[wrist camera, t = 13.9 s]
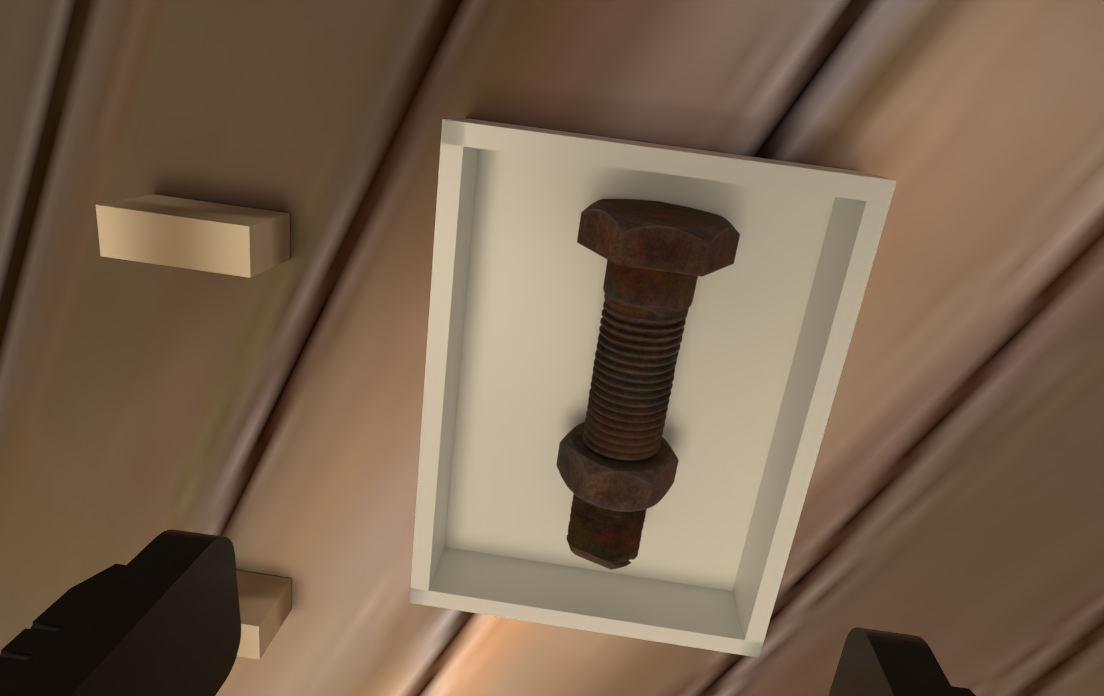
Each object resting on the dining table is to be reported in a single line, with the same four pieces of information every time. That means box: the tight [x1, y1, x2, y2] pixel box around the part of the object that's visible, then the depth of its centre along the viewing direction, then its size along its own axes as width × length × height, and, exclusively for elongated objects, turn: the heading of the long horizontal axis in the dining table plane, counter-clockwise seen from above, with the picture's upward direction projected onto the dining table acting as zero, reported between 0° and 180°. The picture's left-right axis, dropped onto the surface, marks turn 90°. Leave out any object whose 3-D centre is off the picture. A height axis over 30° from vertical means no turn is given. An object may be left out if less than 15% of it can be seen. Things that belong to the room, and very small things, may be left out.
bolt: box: [556, 198, 740, 570], centre depth 27 cm, size 6×5×15 cm
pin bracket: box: [96, 194, 291, 660], centre depth 31 cm, size 6×21×4 cm, turn 173°
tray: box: [410, 118, 897, 657], centre depth 29 cm, size 16×21×4 cm
